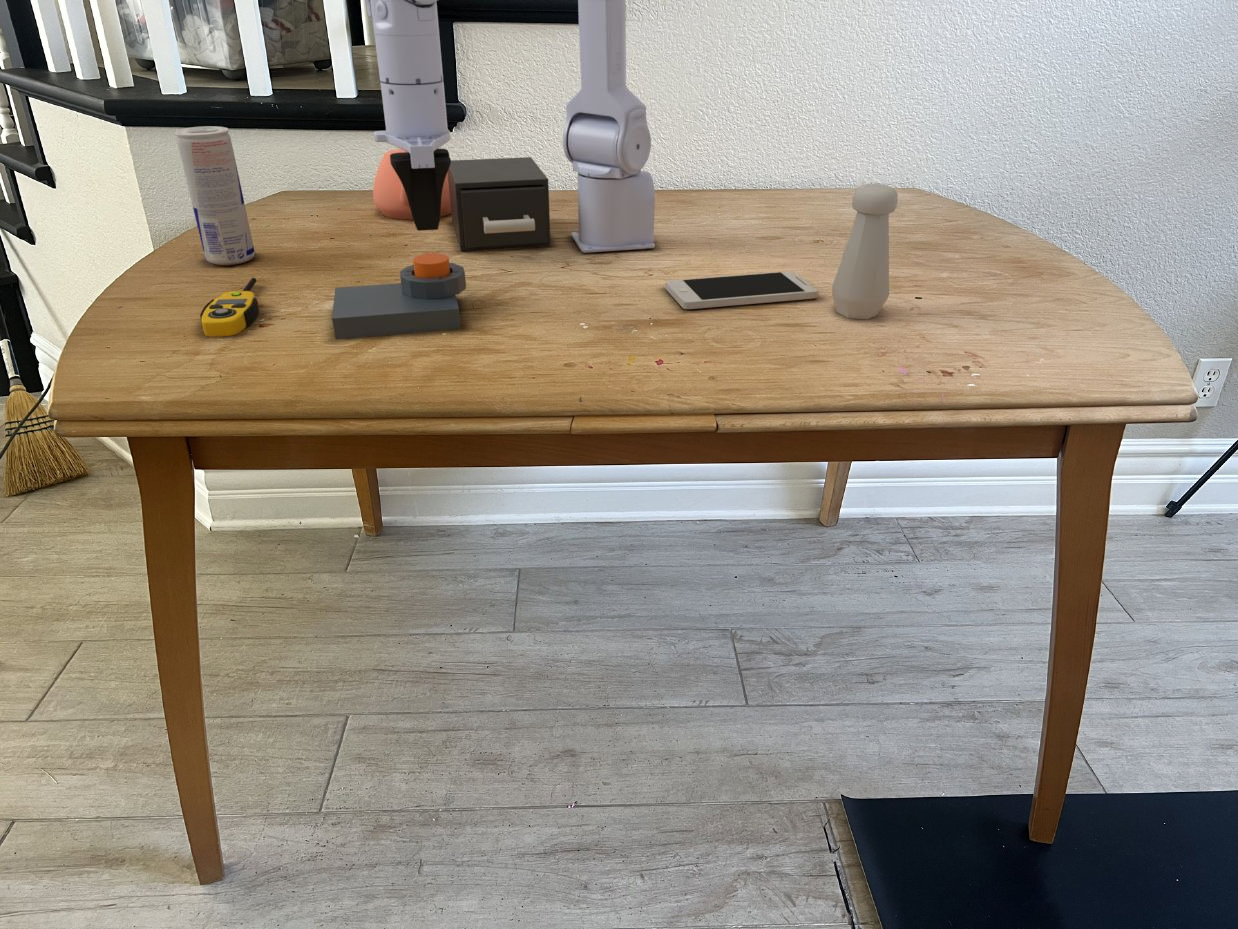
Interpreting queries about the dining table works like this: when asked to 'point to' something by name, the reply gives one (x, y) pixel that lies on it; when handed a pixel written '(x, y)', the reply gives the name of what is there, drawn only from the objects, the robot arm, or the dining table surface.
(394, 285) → the block
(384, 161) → the teapot
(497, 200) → the pull-out drawer
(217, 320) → the yellow walkie talkie
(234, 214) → the beverage can
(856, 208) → the salt shaker
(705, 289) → the smartphone
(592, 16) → the robot arm
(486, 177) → the small drawer cabinet
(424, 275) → the button
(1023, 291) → the dining table surface
